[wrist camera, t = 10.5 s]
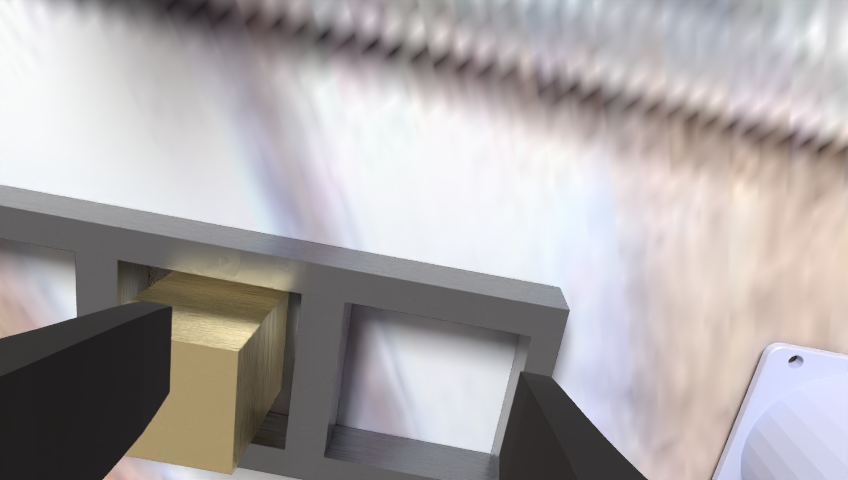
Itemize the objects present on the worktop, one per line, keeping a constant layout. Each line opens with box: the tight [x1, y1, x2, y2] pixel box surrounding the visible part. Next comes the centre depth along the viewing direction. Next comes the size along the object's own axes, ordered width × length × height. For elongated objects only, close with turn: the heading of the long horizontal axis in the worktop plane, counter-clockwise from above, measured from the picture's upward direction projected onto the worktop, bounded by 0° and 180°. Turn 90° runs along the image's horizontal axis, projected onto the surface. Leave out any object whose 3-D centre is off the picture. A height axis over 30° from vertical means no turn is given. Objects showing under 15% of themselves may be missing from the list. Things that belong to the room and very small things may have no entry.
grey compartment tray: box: [0, 185, 570, 480], centre depth 21 cm, size 24×9×2 cm, turn 80°
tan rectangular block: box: [123, 270, 289, 474], centre depth 19 cm, size 4×4×5 cm
